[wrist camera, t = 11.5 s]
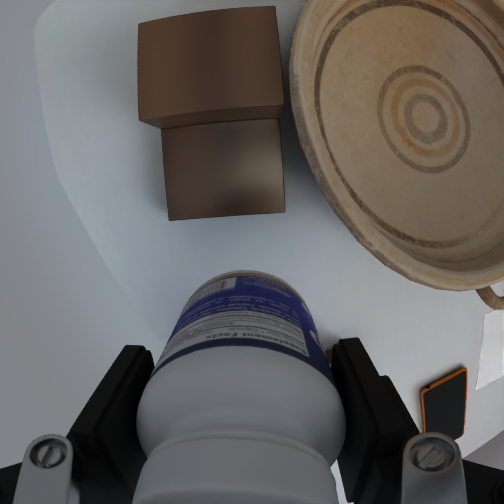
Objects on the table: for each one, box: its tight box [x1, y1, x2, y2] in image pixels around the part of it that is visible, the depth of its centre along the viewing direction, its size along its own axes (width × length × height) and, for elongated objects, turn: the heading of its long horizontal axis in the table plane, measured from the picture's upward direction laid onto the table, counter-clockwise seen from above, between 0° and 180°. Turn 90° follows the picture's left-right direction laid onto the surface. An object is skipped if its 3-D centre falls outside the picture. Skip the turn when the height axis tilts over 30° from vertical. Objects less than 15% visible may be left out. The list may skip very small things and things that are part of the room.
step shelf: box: [138, 6, 285, 221], centre depth 23 cm, size 10×16×8 cm, turn 4°
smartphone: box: [420, 367, 467, 440], centre depth 35 cm, size 8×17×1 cm, turn 22°
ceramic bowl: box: [288, 0, 504, 310], centre depth 22 cm, size 37×29×10 cm
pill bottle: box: [132, 270, 346, 504], centre depth 8 cm, size 5×5×9 cm
